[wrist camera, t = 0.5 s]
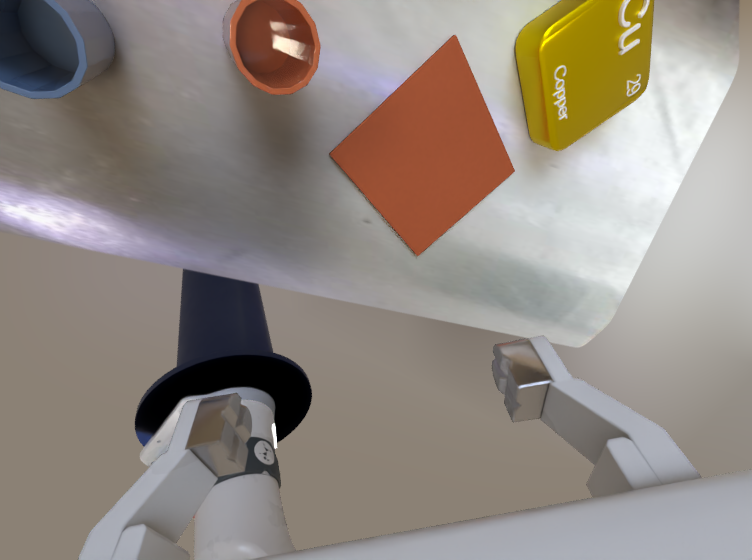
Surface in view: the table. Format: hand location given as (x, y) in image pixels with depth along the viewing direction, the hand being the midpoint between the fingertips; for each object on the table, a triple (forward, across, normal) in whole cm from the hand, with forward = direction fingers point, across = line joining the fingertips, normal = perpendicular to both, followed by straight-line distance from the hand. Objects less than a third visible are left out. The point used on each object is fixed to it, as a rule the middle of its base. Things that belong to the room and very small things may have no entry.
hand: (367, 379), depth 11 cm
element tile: (+42, +29, -2) cm, 52 cm away
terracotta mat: (+37, +10, -9) cm, 39 cm away
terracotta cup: (+33, -6, +8) cm, 34 cm away
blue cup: (+29, -19, +10) cm, 36 cm away
